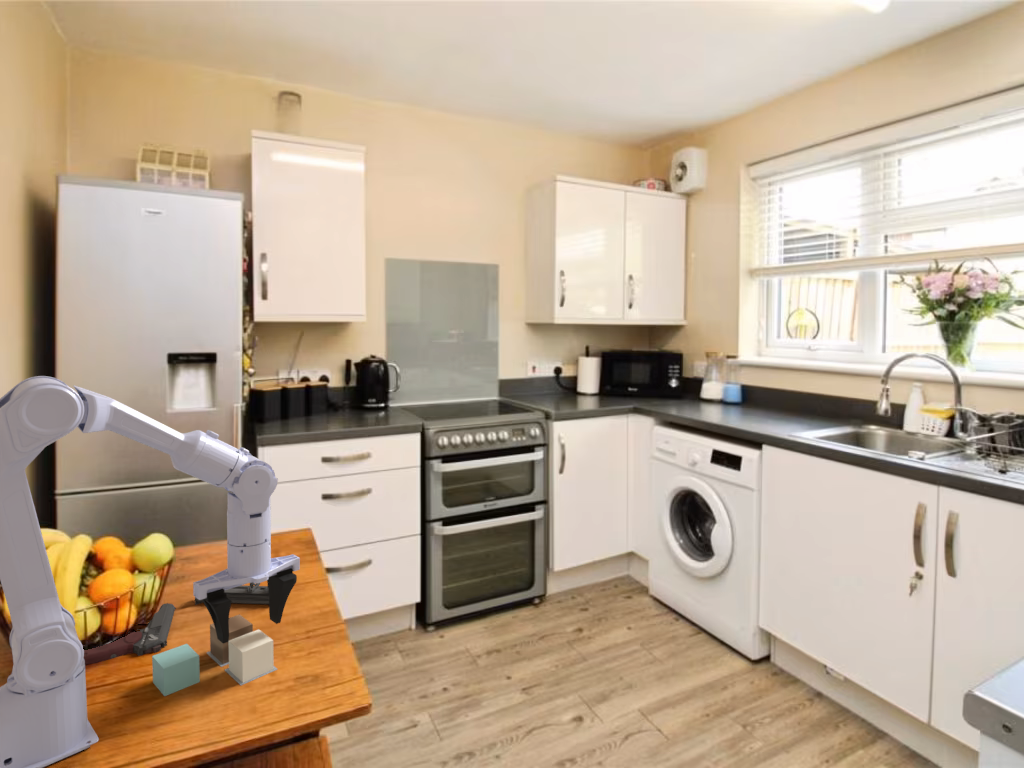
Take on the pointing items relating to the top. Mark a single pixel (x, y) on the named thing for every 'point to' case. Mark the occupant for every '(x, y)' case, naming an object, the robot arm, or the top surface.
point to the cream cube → (251, 655)
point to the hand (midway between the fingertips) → (249, 630)
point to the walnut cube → (236, 629)
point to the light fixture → (246, 594)
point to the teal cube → (175, 669)
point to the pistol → (137, 639)
